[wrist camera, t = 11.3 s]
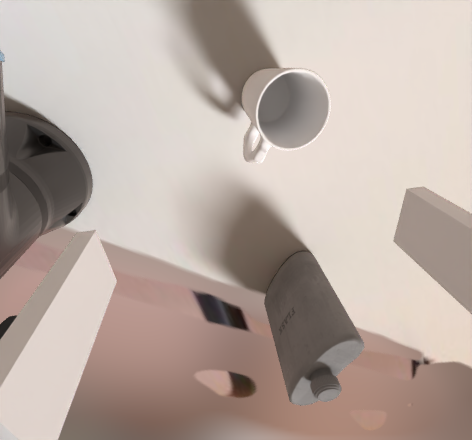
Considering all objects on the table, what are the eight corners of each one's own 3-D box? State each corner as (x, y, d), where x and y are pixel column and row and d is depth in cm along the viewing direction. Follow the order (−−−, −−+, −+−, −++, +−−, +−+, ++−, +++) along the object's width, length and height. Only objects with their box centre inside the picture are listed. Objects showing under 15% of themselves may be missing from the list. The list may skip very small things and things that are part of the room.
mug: (258, 53, 32) (285, 49, 22) (303, 86, 34) (346, 97, 24) (216, 130, 36) (222, 158, 25) (258, 155, 38) (280, 190, 28)
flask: (290, 246, 47) (342, 354, 29) (319, 253, 48) (385, 361, 31) (256, 307, 53) (282, 425, 36) (283, 312, 55) (320, 427, 37)
